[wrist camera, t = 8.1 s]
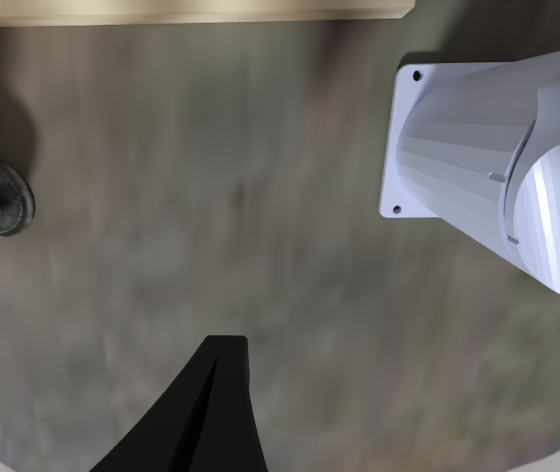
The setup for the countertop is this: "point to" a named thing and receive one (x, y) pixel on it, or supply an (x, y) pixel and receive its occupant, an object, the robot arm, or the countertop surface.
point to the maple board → (191, 11)
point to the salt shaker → (13, 202)
